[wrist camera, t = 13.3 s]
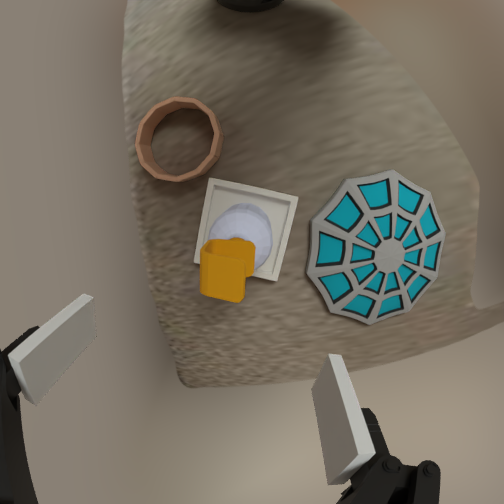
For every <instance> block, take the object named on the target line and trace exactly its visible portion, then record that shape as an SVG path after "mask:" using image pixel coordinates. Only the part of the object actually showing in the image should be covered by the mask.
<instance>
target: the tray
mask: <svg viewBox="0 0 504 504" xmlns="http://www.w3.org/2000/svg"><path fill="white" fill-rule="evenodd" d="M298 198H299V197H297V196H294V195H290V194H286V193H281V192H277V191H273V190H269V189H264V188H260V187H256V186H251V185H246V184H242V183H237V182H232V181H227V180H222V179H217V178H212V177H209V181H208V186H207V191H206V196H205V201H204V206H203V212H202V217H201V222H200V228H199V234H198V239H197V245H196V251H195V257H194V263H198V264H200V249H201V248H202V247H203V245H204V244H205V243H206V242H207V241H208V235H209V230H210V228H211V226H212V224H213V223H214V221H215V220H216V219H217V218H218V217H219V216H220V215H221V214H222V213H223V212H225V211H226V210H227V209H228V208H230V207H231V206H233V205H236V204H239V203H251V204H253V205H255V206H258V207H260V208H261V209H262V210H263V211H264V212H265V213H266V214H267V216H268V218H269V220H270V223H271V229H272V238H273V246H272V250H271V254H270V256H269V257H268V259H267V260H266V261H265V263H264V264H263V265H261V266H260V267H258V268H257V269H255V270H254V273H253V274H252V276H255V277H259V278H264V279H268V280H273V281H277V279H278V276H279V272H280V268H281V265H282V261H283V257H284V253H285V249H286V246H287V242H288V238H289V234H290V230H291V226H292V222H293V218H294V214H295V210H296V206H297V202H298Z"/></svg>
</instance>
